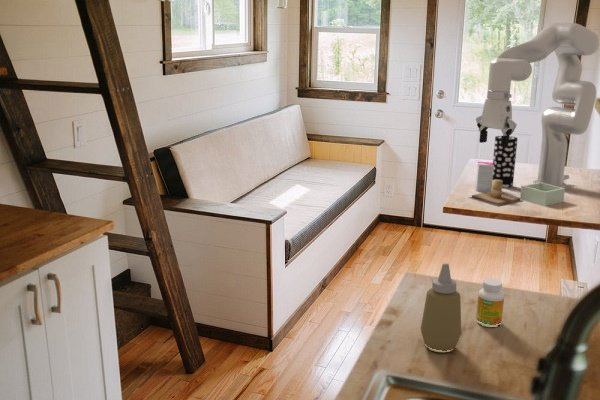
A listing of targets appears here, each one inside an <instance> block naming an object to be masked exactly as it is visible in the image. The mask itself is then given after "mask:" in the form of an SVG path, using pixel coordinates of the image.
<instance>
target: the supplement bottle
mask: <svg viewBox="0 0 600 400" xmlns="http://www.w3.org/2000/svg"><path fill="white" fill-rule="evenodd" d="M502 288H503V282H502V281H501V280H499V279H496V278H485V279H483V281H482V288H481V289H479V291H478V295H477V305H476V306H477V308H476V316H475V319H476V318H477V320H478V321H480V322H482V323H484V324H489V325H496V324H499V323H501V321H503V311H504V303H505V293H504V291H502V290H503V289H502ZM501 324H502V323H501Z"/></svg>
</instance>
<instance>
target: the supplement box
mask: <svg viewBox="0 0 600 400" xmlns="http://www.w3.org/2000/svg"><path fill="white" fill-rule="evenodd" d="M476 168H477V169H476V177H475V186H474V189H475V192H481V193H486V192H491V189H492V179H493V170H494V165H493V161H492V162H488V161H477V167H476Z"/></svg>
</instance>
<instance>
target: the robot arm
mask: <svg viewBox="0 0 600 400" xmlns="http://www.w3.org/2000/svg"><path fill="white" fill-rule="evenodd" d="M599 46H600V39H599V36H598V34H597V33H596V32H594V31H593V30H591V29H589V28H587V27H586V26H583V25H582V24H578V23H576V22H553V23H551V24H550V23H549V24H548V25H547V26H545V27H544V28H543V29H542V30H541V31H539V32H538V33H537V34H536V35H535V36H533V37H532V38H531V39H530V40H528V41H525V42H523V43H519V44H518V45H514V46H511V47H510V48H508V49H505V50H504V51H502V52H501V53H500V54H499V55H498V56H497V57H495V58H494V59H493V60H491V62H490V65H489V72H488V80H487V81H488V84H487V93H486V99H485V101H484V104H483V108H482V113H481V115H479V116H477V117H476V118H475V122H476V127H477V128H478V132H479V140H478V142H479V143H483V144H484V143H487V142H488V129H494V130H500V131H501V133H502V135H501V136H502V138H501V147H508V143H509V136H511V135H512V134H513V133H514V132H515V129H516V128H517V123H516V122H515V121H514V120H513V118H512V117H513V107H512V101H511V100H510V99H511V98H512V93H511V85H512V82H523V81H526V80H528V79H529V78H530V76H531V75H532V71H533V67H532V65H531V64H534V63H536V62H537V63H538V62H541V61H544V60H545V59H546V58H547V57H548V56H550V55H551V54H552V53H553V52H554V53H555V55H556V57H557V62H558V67H557V68H558V69H557V74H556V77H555V81H554V85H553V90H552V93H551V94H552V95H551V98H552V100H553V101H554V102H555V103H557V104H561V105H567V106H575V108H570V107H561V106H551V107H547V108H546V109H544V111H543V113H542V114H541V130H542V131H541V133H542V134H541V135H542V136H541V145H540V155H539V163H538V173H537V179H536V180H533V181H532V184H534V183H539V182H541V183H545V184H549V185H553V186H557V187H562V188H565V189H567V183H565V182H564V181H566V180H569V179H570V175H569V174H565V167H566V161H567V160H566V158H567V151H568V140H567V136H566V135H565V134H567V135H577V136H579V135H583V134H584V133H585V132H586V131H587V130H588V128H589V124H590V121H591V118H592V114H593V111H594V106H595V103H596V99H597V88H596V86H595V84H594V83H593V82H592V81H588V80H587V81H586V80H581V76H582V71H583V65H582V62H581V61H580V58H579V57H578V56H592V55H593V54H595V53H596V52H597V51H598V49H599Z"/></svg>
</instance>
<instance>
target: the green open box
mask: <svg viewBox="0 0 600 400" xmlns="http://www.w3.org/2000/svg"><path fill="white" fill-rule="evenodd" d="M565 191H566V188H562V187H557V186H553V185H549V184H545V183H541V182H539V183H534V184H533V183H528V184H524V185H521V187H520V197H519V198H520V200H522V201H523V202H524V201H525V202H528V203H532V204H535V205H540V206H543V207H548V206H552V205H555V204H560V203H564V200H565Z"/></svg>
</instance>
